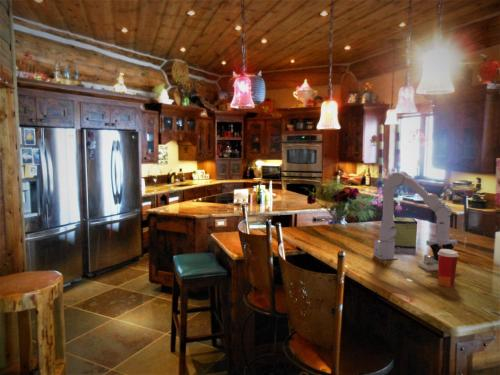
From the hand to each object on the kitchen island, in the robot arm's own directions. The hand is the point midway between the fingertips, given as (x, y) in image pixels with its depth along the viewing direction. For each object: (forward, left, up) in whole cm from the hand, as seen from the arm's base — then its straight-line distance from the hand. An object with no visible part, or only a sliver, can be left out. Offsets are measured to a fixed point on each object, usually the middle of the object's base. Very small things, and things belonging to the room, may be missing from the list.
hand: (440, 259), depth 179 cm
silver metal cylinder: (-6, 0, -3) cm, 7 cm away
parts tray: (-3, 0, -4) cm, 5 cm away
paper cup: (-12, -20, -4) cm, 24 cm away
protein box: (+2, +39, -4) cm, 39 cm away
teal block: (0, 0, -2) cm, 2 cm away
